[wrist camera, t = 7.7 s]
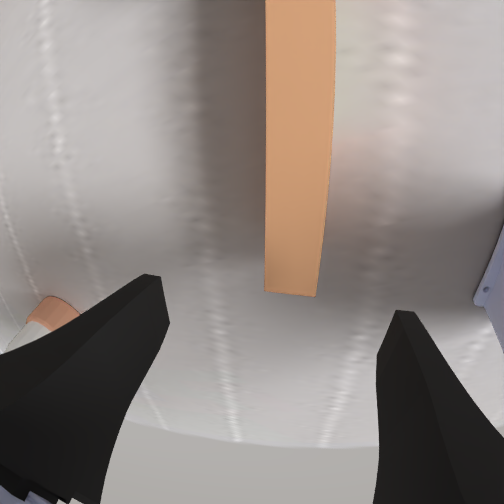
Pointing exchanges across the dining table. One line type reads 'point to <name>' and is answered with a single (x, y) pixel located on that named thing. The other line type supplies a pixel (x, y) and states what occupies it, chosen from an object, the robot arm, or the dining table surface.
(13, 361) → the robot arm
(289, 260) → the orange rectangular bar
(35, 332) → the salt shaker
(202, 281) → the dining table surface
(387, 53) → the dining table surface
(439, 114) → the dining table surface
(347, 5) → the dining table surface
